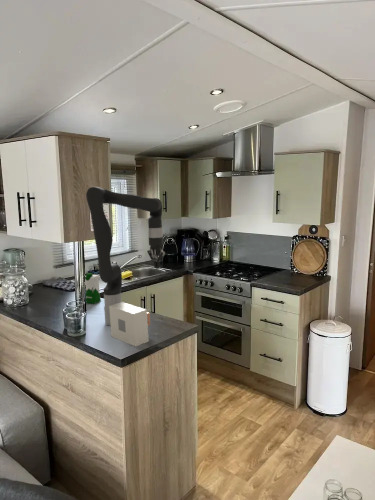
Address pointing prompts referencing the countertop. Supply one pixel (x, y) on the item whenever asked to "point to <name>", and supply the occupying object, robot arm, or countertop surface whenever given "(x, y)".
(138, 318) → the key box
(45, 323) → the countertop surface
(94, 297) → the milk carton
